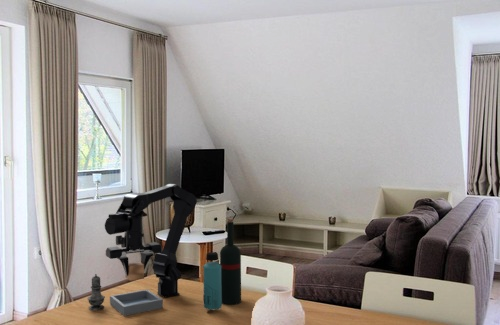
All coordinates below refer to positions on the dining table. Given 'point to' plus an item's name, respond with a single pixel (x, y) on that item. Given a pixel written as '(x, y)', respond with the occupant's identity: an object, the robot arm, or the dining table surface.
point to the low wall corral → (136, 302)
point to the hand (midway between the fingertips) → (134, 274)
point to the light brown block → (135, 271)
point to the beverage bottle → (212, 282)
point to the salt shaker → (96, 295)
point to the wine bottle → (230, 269)
